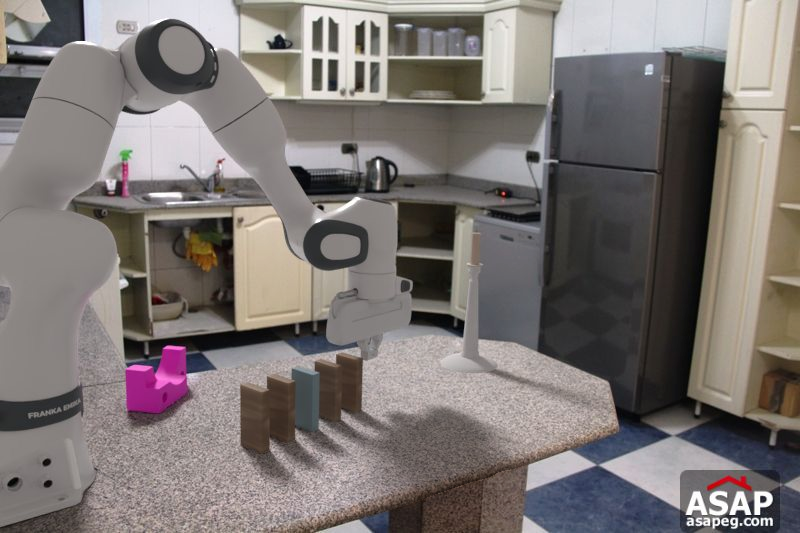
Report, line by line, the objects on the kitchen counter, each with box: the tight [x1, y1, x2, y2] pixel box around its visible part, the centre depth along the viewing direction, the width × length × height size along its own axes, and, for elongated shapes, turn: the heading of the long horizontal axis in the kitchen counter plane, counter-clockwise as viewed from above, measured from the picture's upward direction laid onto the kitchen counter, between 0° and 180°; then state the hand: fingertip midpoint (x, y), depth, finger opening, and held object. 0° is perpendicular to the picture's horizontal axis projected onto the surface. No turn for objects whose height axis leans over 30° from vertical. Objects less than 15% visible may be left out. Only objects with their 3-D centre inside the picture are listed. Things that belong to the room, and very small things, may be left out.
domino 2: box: [266, 373, 296, 443], centre depth 118 cm, size 2×5×10 cm, turn 52°
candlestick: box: [439, 230, 499, 374], centre depth 155 cm, size 13×13×30 cm
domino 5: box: [335, 352, 364, 413], centre depth 131 cm, size 2×5×10 cm, turn 52°
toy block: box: [124, 345, 188, 414], centre depth 134 cm, size 15×6×8 cm, turn 169°
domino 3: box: [290, 365, 320, 433], centre depth 122 cm, size 2×5×10 cm, turn 52°
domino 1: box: [239, 381, 270, 454], centre depth 114 cm, size 2×5×10 cm, turn 52°
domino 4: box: [314, 358, 342, 423], centre depth 126 cm, size 2×5×10 cm, turn 52°
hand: (369, 358), depth 134 cm, fingers closed
